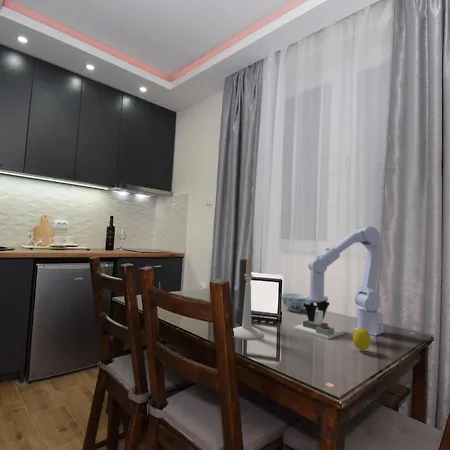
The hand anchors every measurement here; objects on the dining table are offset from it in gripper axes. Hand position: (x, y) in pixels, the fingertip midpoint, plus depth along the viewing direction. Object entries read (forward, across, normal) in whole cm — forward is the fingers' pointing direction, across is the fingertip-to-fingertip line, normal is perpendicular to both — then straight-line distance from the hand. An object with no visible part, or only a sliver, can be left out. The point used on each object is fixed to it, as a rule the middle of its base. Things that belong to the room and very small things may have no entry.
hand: (316, 320), depth 130 cm
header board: (+4, +1, +2) cm, 5 cm away
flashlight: (+4, +19, -24) cm, 31 cm away
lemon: (+4, +10, +24) cm, 26 cm away
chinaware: (+4, -25, -28) cm, 38 cm away
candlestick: (+4, +29, -12) cm, 32 cm away
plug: (+3, 0, 0) cm, 3 cm away
